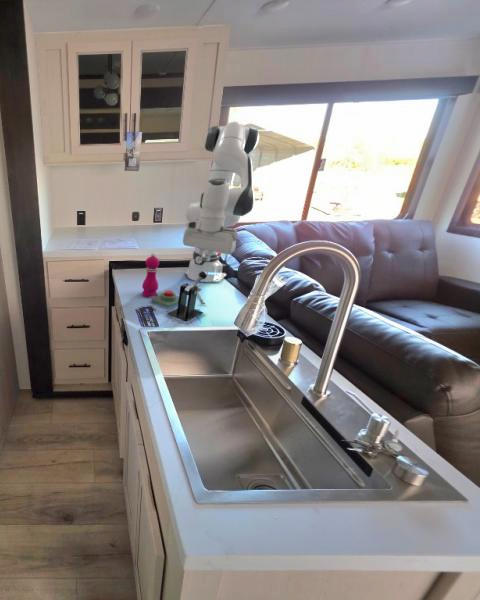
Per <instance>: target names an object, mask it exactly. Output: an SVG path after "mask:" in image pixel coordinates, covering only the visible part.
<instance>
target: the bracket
mask: <svg viewBox="0 0 480 600" xmlns="http://www.w3.org/2000/svg"><path fill="white" fill-rule="evenodd" d="M187 286H190V284H189V283H183V284H182V285H180V286H179V293H178V296H179V301H178V304H177V308H176V309H174V310H172V311H169V312H167V313H166V314H167V315H169V316H171V317H173V318H175V319H178V320H181V321H183V322H185V323H187V322H189V321H191V320H193V319H195V318H197V317H199V316H200V315H202V314H204V312H203V311H200V310H198V309H196V303H197V295H198V293H197V290H198V287H197V286H198V285H197V286H195V287H193V288H190V289H189V295H186V294H184V289H185V288H186V287H187ZM198 291H199V290H198Z"/></svg>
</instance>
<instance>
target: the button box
mask: <svg viewBox="0 0 480 600" xmlns="http://www.w3.org/2000/svg"><path fill="white" fill-rule="evenodd" d="M164 294H165V291H164V292H161V293H160V294H159V295H158V296H157V295H156V296H155V297H152V298H151V302H153V303H156V304H158V305H161V306H163V307H166V308H169V309H170V308H172V307H174V306H176V305H178V301H179V295H177V294H176V293H174V292H173V296H172V297H168V296H165V295H164Z"/></svg>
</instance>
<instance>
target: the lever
mask: <svg viewBox="0 0 480 600" xmlns="http://www.w3.org/2000/svg"><path fill="white" fill-rule="evenodd" d="M206 277H207V273H206V272H203V271H202V272H200V273H199V277H198V278H197V280H196V281H194V282H192V284H190V285H191V286H190V285H189V286H187V287H186V288H185V289H184V294H186V295H187V296H189V289H190V288H193V287H195V286H196V285H197V286H198V284H199V283H201V282H200V280H201V279H205V278H206Z"/></svg>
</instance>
